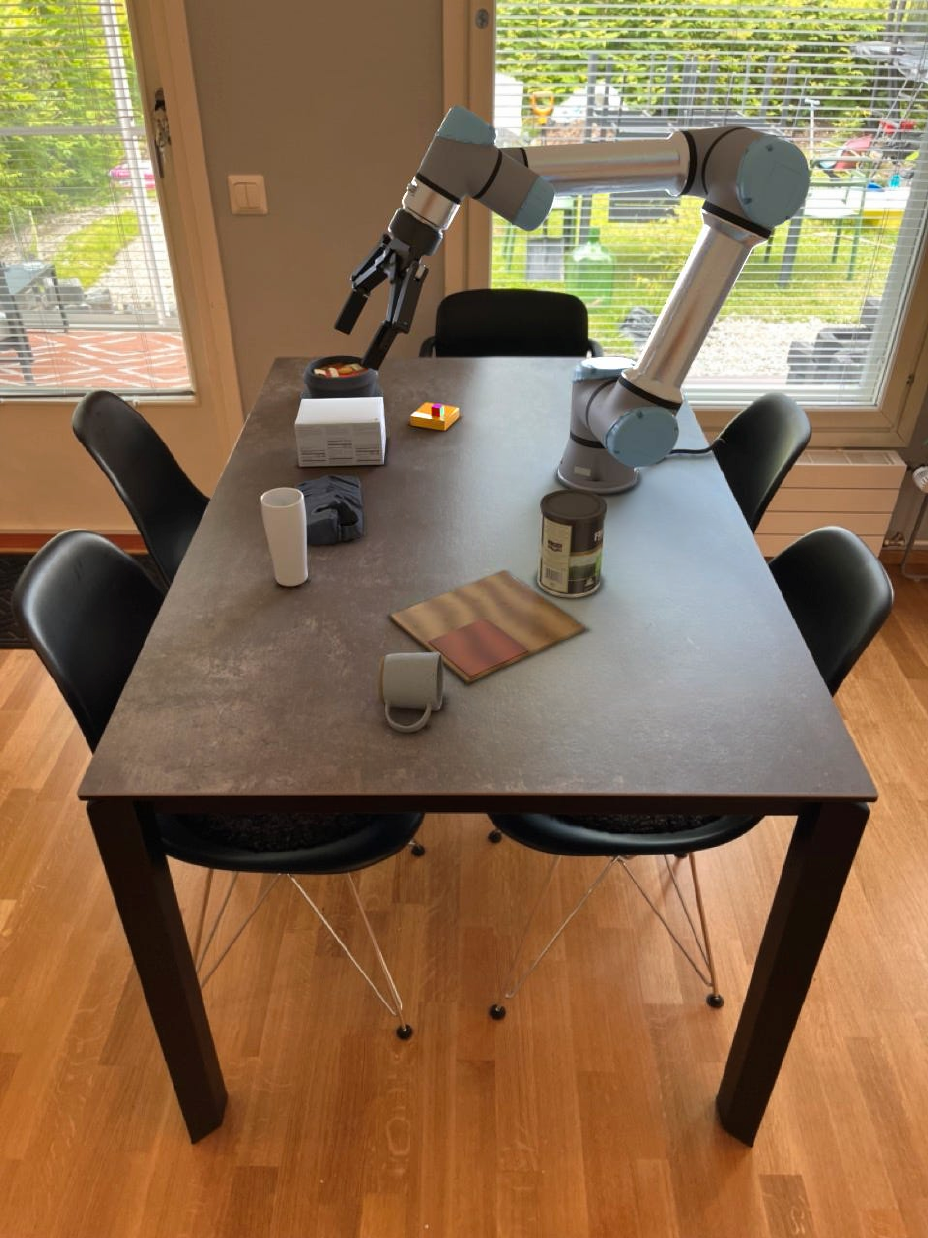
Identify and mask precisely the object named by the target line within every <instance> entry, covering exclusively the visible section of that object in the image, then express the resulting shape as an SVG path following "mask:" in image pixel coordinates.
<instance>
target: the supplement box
mask: <svg viewBox="0 0 928 1238" xmlns="http://www.w3.org/2000/svg"><path fill="white" fill-rule="evenodd" d="M300 400H301V399H300ZM385 424H386V422H385V409H384V397H383V396H382V397H372V398H335V399H302V400H301V401H300V404H299V408H298V411H297V415H296V419H295V421H294V434H295V443H296V452H297V461H298V467H300V468H303V467H339V466H341V467H342V466H344V467H346V466H378V465H384V461H385V452H386V443H387V436H386V435H387V433H386V425H385Z"/></svg>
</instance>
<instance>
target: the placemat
mask: <svg viewBox="0 0 928 1238" xmlns="http://www.w3.org/2000/svg"><path fill="white" fill-rule="evenodd" d="M390 619H391V620H392V621H393V622H395V623H396V624H397V625H398V626H399V627H400V628H401V629H402V630H404V631H405V632H406V633H407V634H409V635H410V637H412V638H413V639H414V640H415V641H416V642H418V644H420V645H421V646H423V647H424V648H425V649H426V650H427V651H428V652H429V653H430V652H439V653H440V654H441V655H442V661H443V665H444V666H445V667H447V668H448V669H449V670H450V671H452V673H453V674H455V675H456V676H457V677H458V678H459V679H460V680H462V681H463V682H464V683H466V684H470V683H473V682H474V681H477V680H479V679H481V678H484V677H486V676H487V675H490V674H492V673H494V672H496V671H498V670H502V669H503V668H505V667H508V666H509V665H511V664H514V663H516V662H518V661H521V660H523V659H525V658H527V657H529V656H531V655H533V654H536V653H538V652H540V651H542V650H544V649H546V648H549V647H551V646H553V645H555V644H558V643H560V642H562V641H564V640H567V639H569V638H571V637H573V636H575V635H578V634H579V633H582V632H584V631H586V626H585V625H583V624H582V623H580V622H579V621H578V620H576V619H574V618H573V617H572V616H570V615H569V614H567V612H565V611H563V610H562V609H560V608H559V607H557V606H556V605H554V604H553V603H552V602H550V601H549V600H547V599H546V598H544V597H543V596H542V595H540V594H539V593H537V592H536V591H534V590H533V589H531V588H530V587H529V586H527V585H526V584H524V583H523V582H521V581H520V580H518V579H517V578H516V577H514V576H513V575H511V574H510V573H509V572H507V571H505V570H501V571H499V572H496V573H494V574H491V575H488V576H486V577H483V578H481V579H478V580H476V581H474V582H471V583H469V584H465V585H463V586H461V587H458V588H456V589H453V590H451V591H449V592H445V593H443V594H441V595H438V596H435V597H433V598H431V599H428V600H426V601H422V602H420V603H418V604H415V605H412V606H410V607H408V608H405V609H402V610H400V611H398V612H395V613H392V614H390Z"/></svg>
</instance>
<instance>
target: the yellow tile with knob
mask: <svg viewBox="0 0 928 1238" xmlns="http://www.w3.org/2000/svg"><path fill="white" fill-rule="evenodd" d="M459 418H460V408H459V407H457V406H453V405H452V406H451V405H445V404H440V403H433V402H424V403H423V404H422V405H421V406H420V407H419V408H417V410H415V411H414V412H413V413H412V414H410V426H413V427H420V428H424V429H425V428H426V429H430V430H431V429H432V430H437V431H446V430H447V429H448V428H449V427H450V426H451V425H452V424H454V422H456V421H457V420H458V419H459Z"/></svg>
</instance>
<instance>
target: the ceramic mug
mask: <svg viewBox="0 0 928 1238" xmlns="http://www.w3.org/2000/svg"><path fill="white" fill-rule="evenodd" d="M379 661H380V662H379V666H378V674H377V693H378V698H379V701H380V703H381V704H382V705H383V706H384V713H385V718H386V721H387V724H389V726H390V727H391V728H392V729H393V730H395V731H397V732H401V733H407V734H408V733H414V732H417V731H419V730H420V729H422V728H423V727H424V726H425V725H426V723H427V722H428V720H429V717H430V716H431V713H432V711H439V710H440V709H441V706H442V702H443V695H444V664H443V661H442V655H441V654H440V653H439V652H430V651H429V652H394V653H388V654H386V655H384V656H382V657H381V659H380V660H379ZM390 708H398V709H412V710H423V711H425V712H424V713H423V715H422V717H421V718H419V720H417V721H416V722H415V723H413V724H411V725H407V726H406V725H402V724H400V723H398V722H395V720H393V719H392V718H391V716H390Z"/></svg>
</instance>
